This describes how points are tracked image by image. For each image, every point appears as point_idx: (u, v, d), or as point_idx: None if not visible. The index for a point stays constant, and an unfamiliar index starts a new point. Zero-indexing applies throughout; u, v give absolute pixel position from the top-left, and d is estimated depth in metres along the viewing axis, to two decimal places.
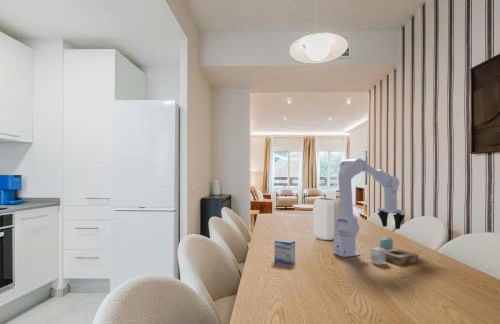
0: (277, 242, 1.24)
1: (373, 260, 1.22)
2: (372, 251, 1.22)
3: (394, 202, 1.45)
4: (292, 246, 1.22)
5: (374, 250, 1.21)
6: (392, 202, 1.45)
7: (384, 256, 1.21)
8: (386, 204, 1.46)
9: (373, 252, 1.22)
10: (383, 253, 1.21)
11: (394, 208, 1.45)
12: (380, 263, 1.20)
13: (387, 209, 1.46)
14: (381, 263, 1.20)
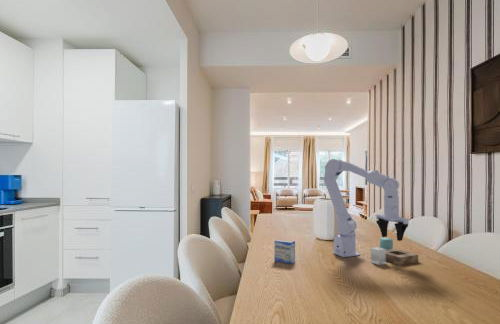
0: (277, 242, 1.24)
1: (373, 260, 1.22)
2: (372, 251, 1.22)
3: (396, 209, 1.23)
4: (292, 246, 1.22)
5: (374, 250, 1.21)
6: (393, 209, 1.23)
7: (384, 256, 1.21)
8: (386, 211, 1.25)
9: (373, 252, 1.22)
10: (383, 253, 1.21)
11: (396, 216, 1.23)
12: (380, 263, 1.20)
13: (387, 217, 1.24)
14: (381, 263, 1.20)
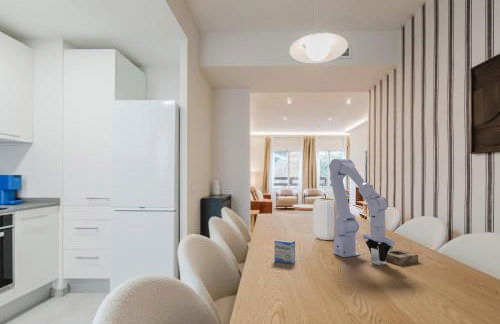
0: (277, 242, 1.24)
1: (373, 260, 1.22)
2: (372, 251, 1.22)
3: (382, 229, 1.20)
4: (292, 246, 1.22)
5: (374, 250, 1.21)
6: (379, 229, 1.20)
7: None
8: (372, 231, 1.21)
9: (373, 252, 1.22)
10: None
11: (382, 237, 1.20)
12: (380, 263, 1.20)
13: (373, 238, 1.21)
14: (381, 263, 1.20)
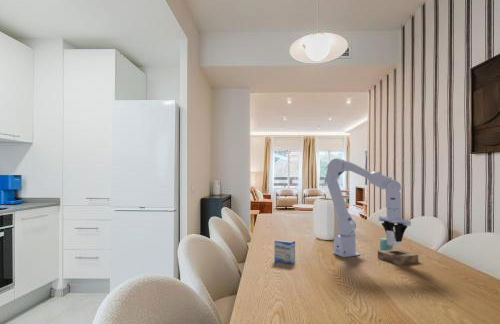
0: (277, 242, 1.24)
1: (389, 242, 1.26)
2: (387, 233, 1.26)
3: (398, 211, 1.24)
4: (292, 246, 1.22)
5: (389, 232, 1.25)
6: (396, 211, 1.24)
7: None
8: (389, 213, 1.25)
9: (389, 234, 1.26)
10: None
11: (398, 218, 1.24)
12: (396, 244, 1.24)
13: (390, 219, 1.25)
14: (397, 244, 1.24)
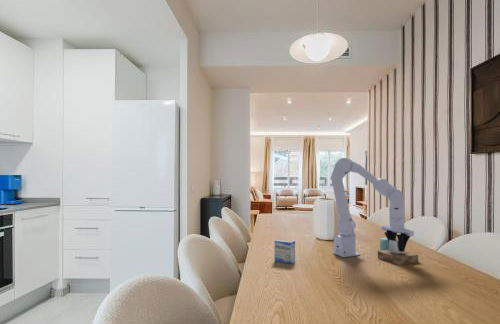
0: (277, 242, 1.24)
1: (391, 251, 1.26)
2: (390, 243, 1.27)
3: (401, 220, 1.24)
4: (292, 246, 1.22)
5: (392, 242, 1.26)
6: (399, 220, 1.24)
7: None
8: (392, 223, 1.26)
9: (391, 243, 1.26)
10: None
11: (401, 227, 1.24)
12: (399, 254, 1.24)
13: (393, 228, 1.25)
14: (399, 254, 1.24)
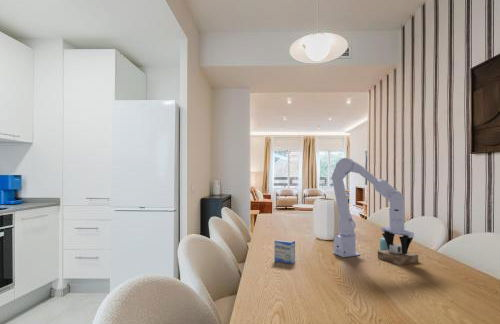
0: (277, 242, 1.24)
1: None
2: (391, 248, 1.27)
3: (401, 222, 1.24)
4: (292, 246, 1.22)
5: (393, 247, 1.26)
6: (399, 222, 1.24)
7: None
8: (392, 224, 1.26)
9: (392, 248, 1.26)
10: None
11: (401, 229, 1.24)
12: None
13: (393, 230, 1.25)
14: None
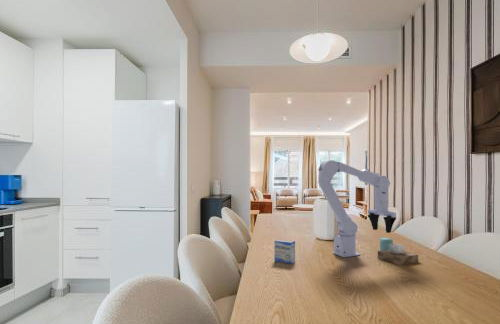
0: (277, 242, 1.24)
1: None
2: (391, 248, 1.27)
3: (385, 203, 1.34)
4: (292, 246, 1.22)
5: (393, 247, 1.26)
6: (383, 203, 1.34)
7: (402, 252, 1.25)
8: (376, 206, 1.36)
9: (392, 248, 1.26)
10: (402, 249, 1.25)
11: (385, 210, 1.34)
12: None
13: (377, 211, 1.35)
14: None
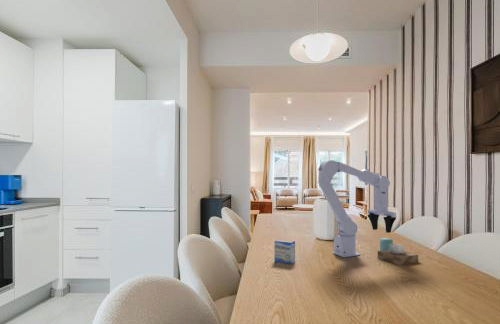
0: (277, 242, 1.24)
1: None
2: (391, 248, 1.27)
3: (385, 203, 1.34)
4: (292, 246, 1.22)
5: (393, 247, 1.26)
6: (382, 203, 1.34)
7: (402, 252, 1.25)
8: (376, 206, 1.36)
9: (392, 248, 1.26)
10: (402, 249, 1.25)
11: (385, 210, 1.34)
12: None
13: (377, 211, 1.35)
14: None
